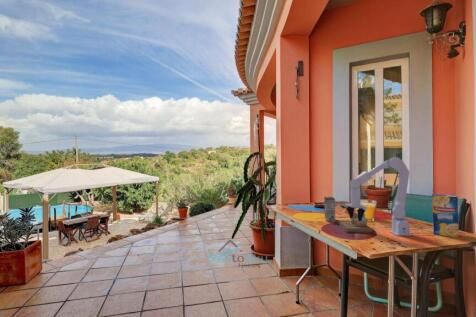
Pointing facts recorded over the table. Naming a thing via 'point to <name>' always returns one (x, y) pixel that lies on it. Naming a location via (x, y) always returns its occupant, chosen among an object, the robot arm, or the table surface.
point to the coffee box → (329, 208)
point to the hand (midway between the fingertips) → (355, 219)
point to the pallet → (357, 222)
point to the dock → (354, 227)
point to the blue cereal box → (445, 215)
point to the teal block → (357, 215)
